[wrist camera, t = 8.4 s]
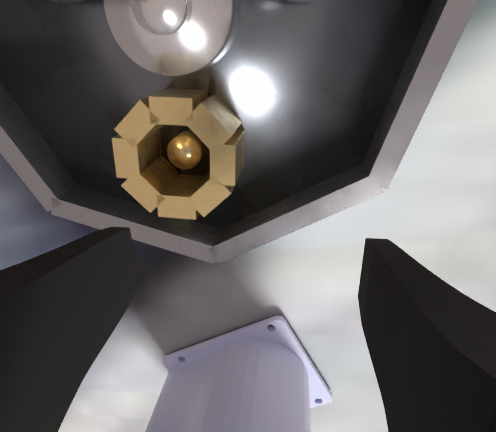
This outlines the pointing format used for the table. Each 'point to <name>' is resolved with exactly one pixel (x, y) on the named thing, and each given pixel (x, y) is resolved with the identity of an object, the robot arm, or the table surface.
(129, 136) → the gold octagonal ring
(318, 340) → the table surface
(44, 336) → the robot arm
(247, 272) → the table surface
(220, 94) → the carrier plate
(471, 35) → the table surface
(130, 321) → the table surface
